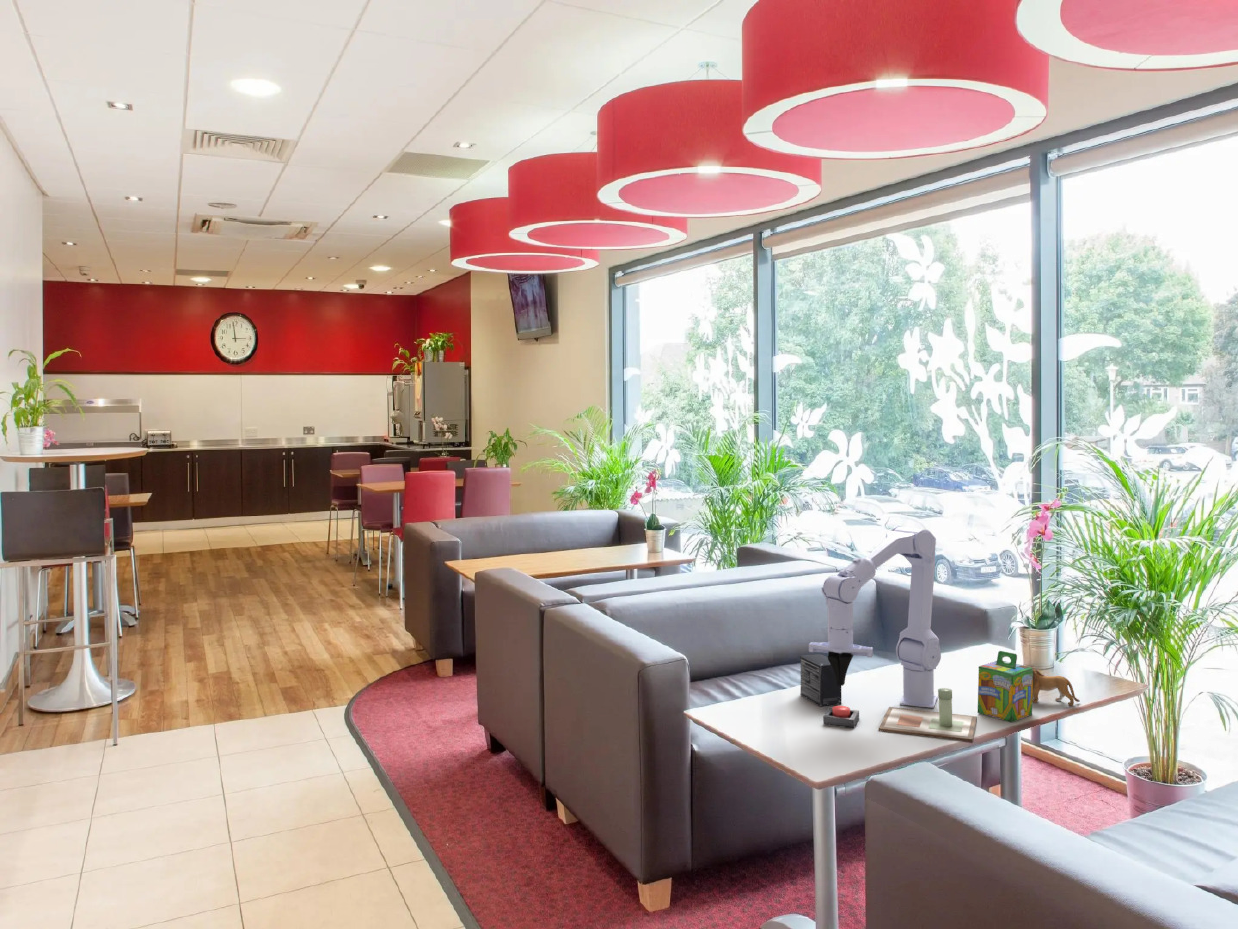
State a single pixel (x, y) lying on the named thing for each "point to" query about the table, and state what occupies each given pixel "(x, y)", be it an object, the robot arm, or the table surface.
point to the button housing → (841, 719)
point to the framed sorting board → (928, 724)
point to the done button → (841, 711)
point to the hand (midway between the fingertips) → (840, 684)
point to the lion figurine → (1052, 686)
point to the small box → (819, 680)
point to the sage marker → (945, 707)
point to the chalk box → (1005, 689)
